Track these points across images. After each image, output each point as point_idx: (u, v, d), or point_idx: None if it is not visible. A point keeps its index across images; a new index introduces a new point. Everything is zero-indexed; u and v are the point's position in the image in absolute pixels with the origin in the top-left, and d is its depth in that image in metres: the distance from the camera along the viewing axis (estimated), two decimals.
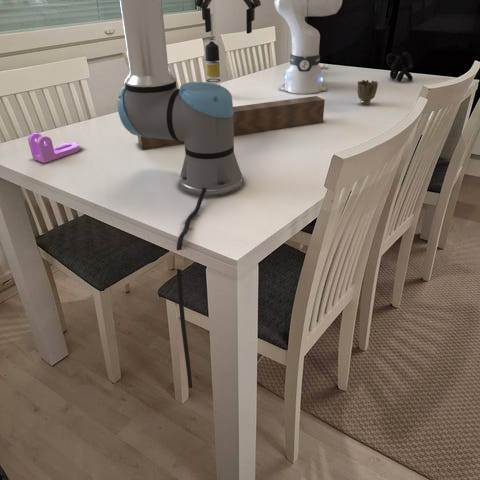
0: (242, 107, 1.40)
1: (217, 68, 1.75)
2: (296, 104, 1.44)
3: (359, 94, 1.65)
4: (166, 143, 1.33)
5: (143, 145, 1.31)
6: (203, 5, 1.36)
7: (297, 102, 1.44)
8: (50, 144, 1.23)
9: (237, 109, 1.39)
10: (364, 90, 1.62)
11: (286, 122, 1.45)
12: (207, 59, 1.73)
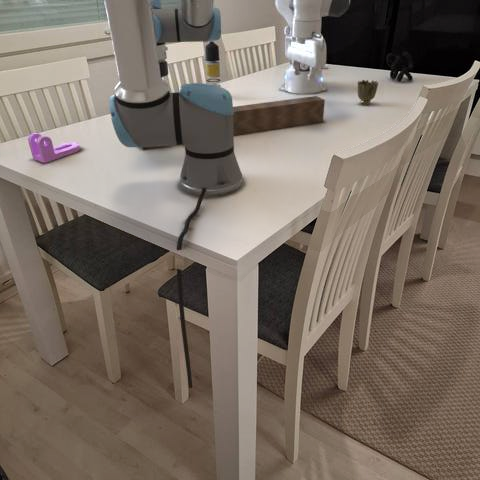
0: (242, 107, 1.40)
1: (217, 68, 1.75)
2: (296, 104, 1.44)
3: (359, 94, 1.65)
4: None
5: None
6: None
7: (297, 102, 1.44)
8: (50, 144, 1.23)
9: (237, 109, 1.39)
10: (364, 90, 1.62)
11: (286, 122, 1.45)
12: (207, 59, 1.73)
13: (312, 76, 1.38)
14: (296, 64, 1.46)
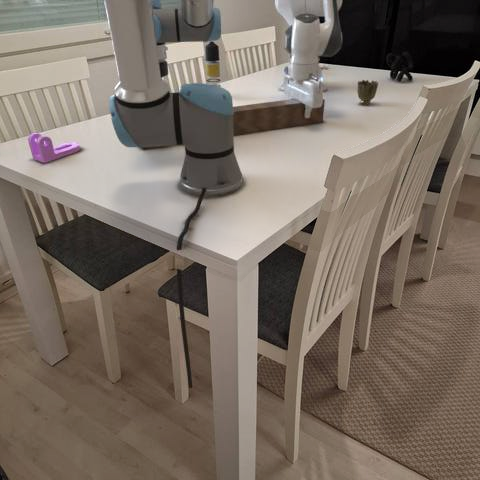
0: (242, 107, 1.40)
1: (217, 68, 1.75)
2: (296, 104, 1.44)
3: (359, 94, 1.65)
4: None
5: None
6: None
7: (297, 102, 1.44)
8: (50, 144, 1.23)
9: (237, 109, 1.39)
10: (364, 90, 1.62)
11: (286, 122, 1.45)
12: (207, 59, 1.73)
13: (307, 113, 1.45)
14: None
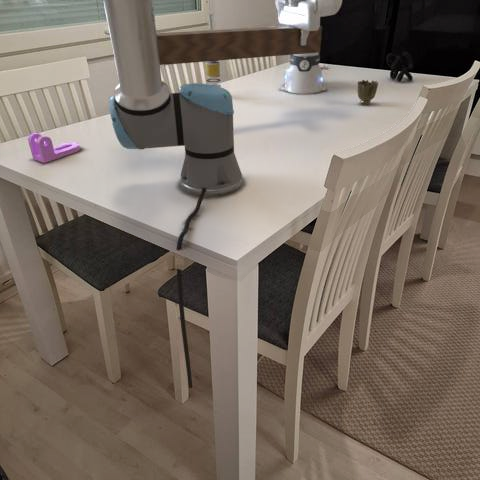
0: (233, 30, 1.30)
1: (217, 68, 1.75)
2: (292, 29, 1.34)
3: (359, 94, 1.65)
4: None
5: None
6: None
7: (292, 27, 1.34)
8: (50, 144, 1.23)
9: (228, 30, 1.29)
10: (364, 90, 1.62)
11: (280, 50, 1.35)
12: None
13: (303, 40, 1.35)
14: None
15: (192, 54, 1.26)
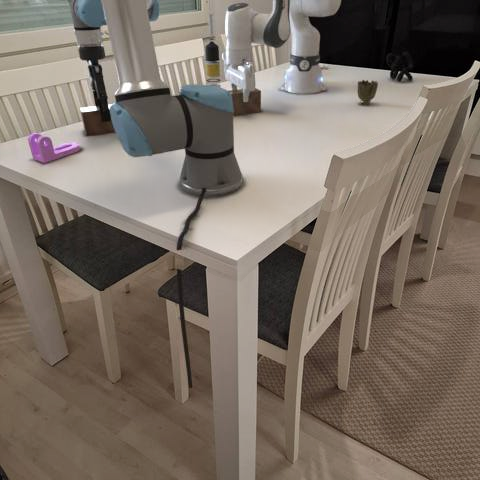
0: None
1: (217, 68, 1.75)
2: (233, 94, 1.55)
3: (359, 94, 1.65)
4: (109, 130, 1.45)
5: (87, 131, 1.42)
6: (92, 87, 1.46)
7: (234, 93, 1.56)
8: (50, 144, 1.23)
9: None
10: (364, 90, 1.62)
11: None
12: (207, 59, 1.73)
13: (245, 98, 1.55)
14: (234, 86, 1.62)
15: None
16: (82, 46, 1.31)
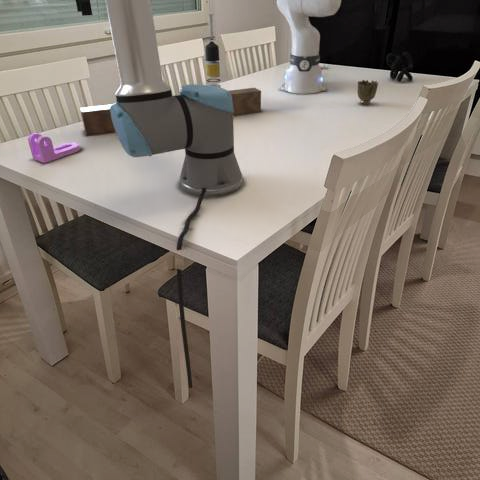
0: None
1: (217, 68, 1.75)
2: (233, 94, 1.55)
3: (359, 94, 1.65)
4: (109, 130, 1.45)
5: (87, 131, 1.42)
6: None
7: (234, 93, 1.56)
8: (50, 144, 1.23)
9: None
10: (364, 90, 1.62)
11: None
12: (207, 59, 1.73)
13: None
14: None
15: None
16: None
